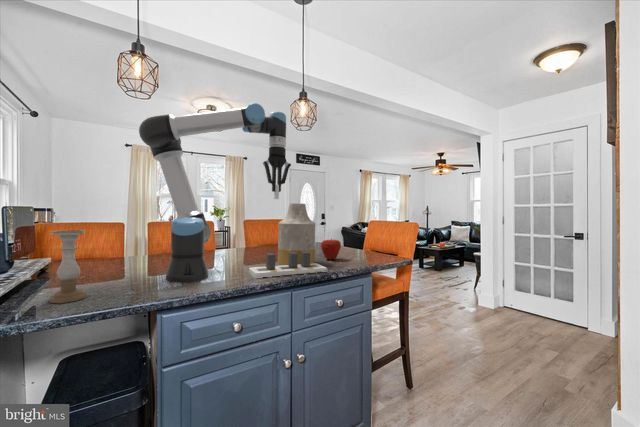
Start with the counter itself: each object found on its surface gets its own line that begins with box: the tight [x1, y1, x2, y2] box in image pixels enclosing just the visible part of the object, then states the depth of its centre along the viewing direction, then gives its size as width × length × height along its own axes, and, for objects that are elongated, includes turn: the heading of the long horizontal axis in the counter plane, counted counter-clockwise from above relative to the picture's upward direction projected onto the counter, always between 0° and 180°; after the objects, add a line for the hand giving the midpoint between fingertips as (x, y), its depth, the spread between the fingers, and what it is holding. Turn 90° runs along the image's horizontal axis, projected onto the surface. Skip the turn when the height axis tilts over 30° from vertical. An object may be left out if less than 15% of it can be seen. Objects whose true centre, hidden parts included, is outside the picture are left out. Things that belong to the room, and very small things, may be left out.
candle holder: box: [48, 229, 88, 304], centre depth 88 cm, size 9×9×20 cm
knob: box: [301, 252, 310, 267], centre depth 133 cm, size 3×4×6 cm
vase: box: [277, 202, 316, 266], centre depth 149 cm, size 18×18×30 cm
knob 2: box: [288, 252, 298, 268], centre depth 130 cm, size 3×4×6 cm
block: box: [265, 252, 276, 269], centre depth 126 cm, size 3×4×6 cm
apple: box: [320, 238, 342, 260], centre depth 163 cm, size 11×11×12 cm
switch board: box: [248, 262, 328, 279], centre depth 130 cm, size 32×12×2 cm, turn 115°
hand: (276, 199), depth 136 cm, fingers closed
